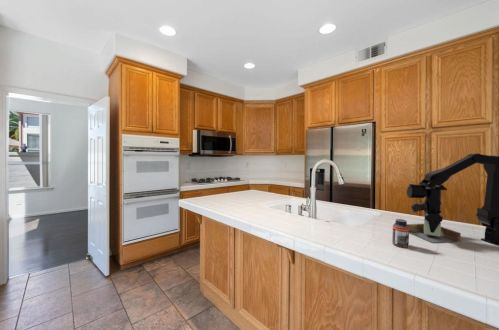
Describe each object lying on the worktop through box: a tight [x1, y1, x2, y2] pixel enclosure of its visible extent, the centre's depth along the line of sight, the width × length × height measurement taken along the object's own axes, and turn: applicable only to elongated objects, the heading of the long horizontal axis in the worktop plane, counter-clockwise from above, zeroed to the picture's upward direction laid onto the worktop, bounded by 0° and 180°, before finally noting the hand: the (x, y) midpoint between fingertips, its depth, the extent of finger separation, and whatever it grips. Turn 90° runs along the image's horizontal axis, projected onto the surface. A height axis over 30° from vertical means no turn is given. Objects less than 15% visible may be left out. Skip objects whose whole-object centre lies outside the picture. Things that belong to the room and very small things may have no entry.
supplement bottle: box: [392, 218, 410, 248], centre depth 96 cm, size 6×6×11 cm
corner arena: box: [406, 223, 462, 244], centre depth 107 cm, size 14×14×4 cm
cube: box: [423, 218, 442, 236], centre depth 106 cm, size 6×6×6 cm
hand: (431, 230), depth 106 cm, fingers closed on cube, 6 cm apart
